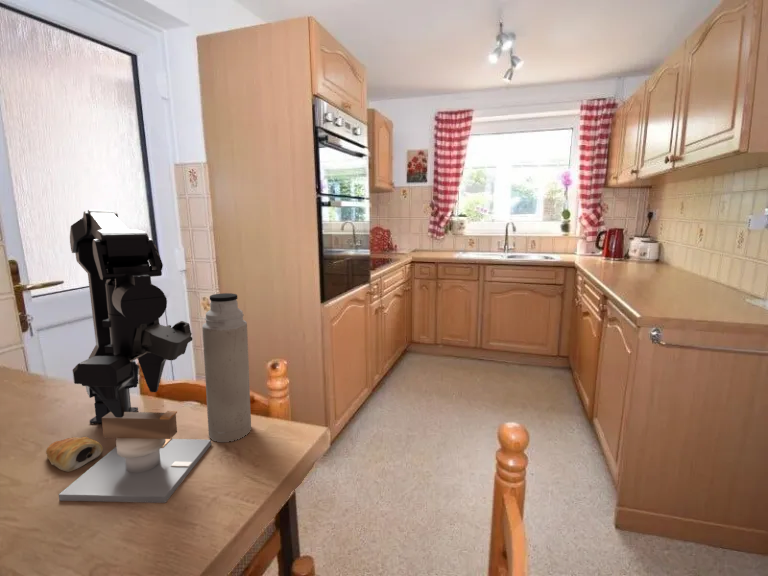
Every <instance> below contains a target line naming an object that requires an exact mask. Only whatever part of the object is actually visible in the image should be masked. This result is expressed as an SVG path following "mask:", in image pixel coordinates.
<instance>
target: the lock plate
mask: <svg viewBox="0 0 768 576" xmlns="http://www.w3.org/2000/svg"><path fill="white" fill-rule="evenodd" d="M165 440H166V442H165V444H164V445H163V447H161V448H160V449H159V450H157V451H155V452H153V453H151V454H148V455H145V456H142V457H136V458H124V457H121V456H119V455H118V454H117V447H116V446H114V448H113V449H111V450H110V451H109V452H108V453H107V454H106V455H104V456H103V457H102V458H101V459H99V460H98V461H97V462H95V464H93V465H92V466H91V467H90V468H88V469H87V470H86V471H85V472H84V473H83V474H81V475H80V476H79V477H78V478H77V479H75V480H74V481H73V482H72V483H70V484H69V485H68V486H67V487H66V488H65V489H63V490H62V491H60V492H59V493H58V499H59V500H58V501H65V502H66V501H68V502H106V503H107V502H112V503H113V502H117V503H155V504H156V503H163V504H165V503H167V502H168V500H169V499H170V498H171V497H172V495H173V494H174V493H175V491H176V490H178V487H179V486H181V484H182V483H183V481H184V480H185V478H186V477H187V476H188V475H189V474H190V472H191V471H192V470H193V469H194V467H196V465H197V463H198V462H199V461H200V460H201V458H202V457H203V456H204V454H205V453H206V452H207V451H208V449H210V447H211V446H212V440H211V439H201V438H200V439H197V438H195V439H192V438H173V437H172V438H171V439H165Z"/></svg>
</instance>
